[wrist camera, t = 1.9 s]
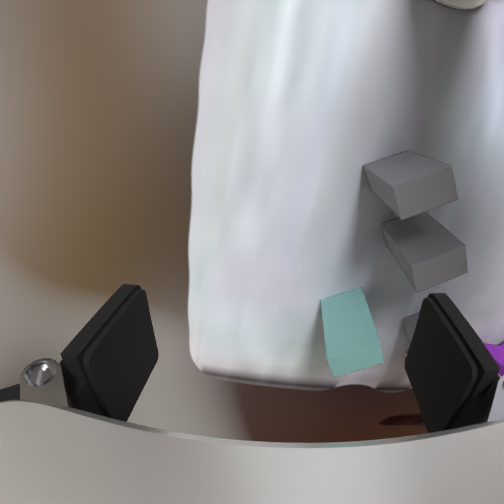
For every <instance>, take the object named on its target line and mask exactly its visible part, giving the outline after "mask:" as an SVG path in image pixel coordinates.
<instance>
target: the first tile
mask: <svg viewBox="0 0 504 504" xmlns="http://www.w3.org/2000/svg"><path fill="white" fill-rule="evenodd" d="M363 169H364V172H365V174H366V177H367V181H368V184H369V187H370V190H371V191H372V192H374V193H375V194H376V195H377V196H378V197H379V198H380V199H381V200H382V201H383V202H384V203H385V204H386V205H387V206H388V207H389V208H390V209H391V210H392V211H393V212H394V213H395V214H396V215H397V216H398V217H399V218H400V219H401V220H403V219H406V218H408V217H411V216H414V215H417V214H419V213H422V212H425V211H428V210H430V209H433V208H436V207H438V206H441V205H444V204H447V203H449V202H452V201H455V200H457V199H458V197H457V192H456V187H455V182H454V178H453V173H452V169H451V166H449V165H446V164H444V163H441V162H438V161H435V160H432V159H429V158H427V157H424V156H421V155H418V154H415V153H411V152H408V151H404V152H401V153H398V154H395V155H392V156H389V157H386V158H383V159H380V160H377V161H374V162H371V163H368V164H365V165H363Z"/></svg>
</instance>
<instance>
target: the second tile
mask: <svg viewBox="0 0 504 504" xmlns="http://www.w3.org/2000/svg"><path fill="white" fill-rule="evenodd" d="M381 227H382V230H383V234H384V238H385V242H386V246H387V247H388V249H389V250H390V252H391V253H392V255H393V256H394V258H395V259H396V261H397V262H398V264H399V265H400V267H401V268H402V270H403V272H404V273H405V275H406V276H407V278H408V280H409V281H410V283H411V284H412V286H413V288H414V289H415V291H416V293H417V292H420V291H422V290H425V289H428V288H430V287H433V286H435V285H438V284H440V283H443V282H445V281H448V280H450V279H453V278H455V277H457V276H460V275H462V274H464V273H467V262H466V252H465V245H464V244H463V243H462V242H461V241H460V240H458V239H457V238H456V237H455V236H454V235H453V234H451V233H450V232H449V231H448V230H447V229H446V228H444V227H443V226H442V225H441V224H440V223H438V222H437V221H436V220H435V219H433V218H432V217H431V216H430V215H429V214H427V213H426V212H422V213H419V214H417V215H414V216H411V217H408V218H406V219H403V220H401V219H400V218H396V219H393V220H390V221H388V222H385V223H382V224H381Z"/></svg>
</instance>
